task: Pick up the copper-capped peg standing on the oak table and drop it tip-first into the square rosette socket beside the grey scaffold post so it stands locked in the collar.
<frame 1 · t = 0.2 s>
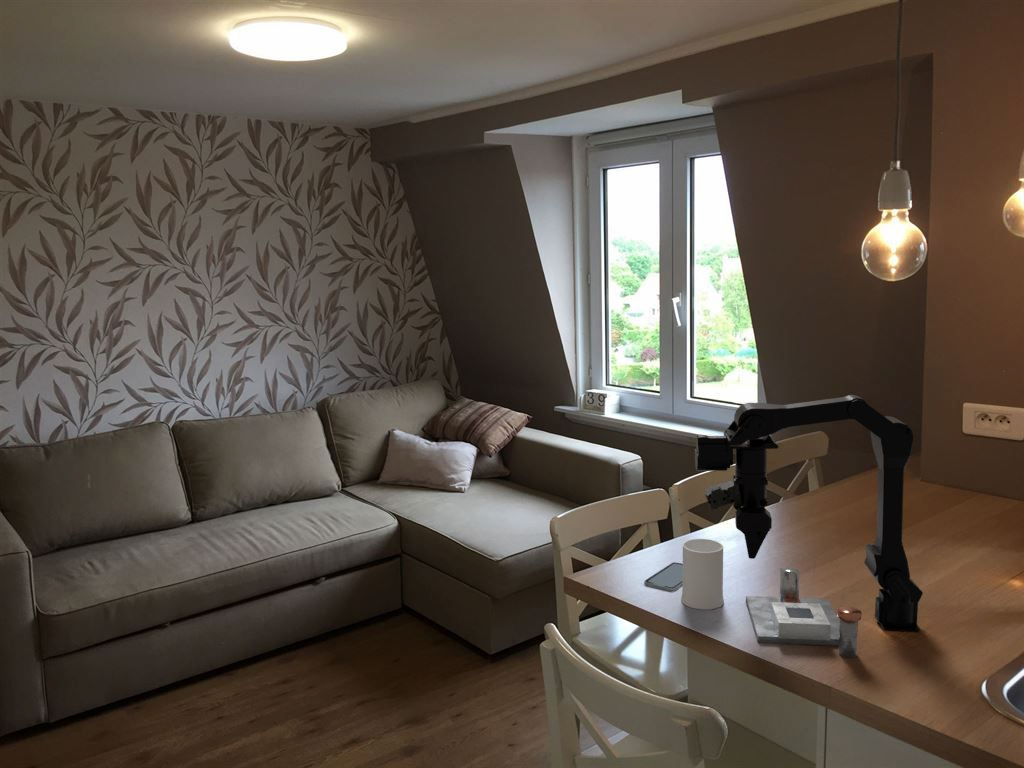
hand: (750, 549, 162), 14 cm above the kitchen counter, fingers open, 9 cm apart
copper-capped peg: (847, 653, 150), on the kitchen counter
mug: (705, 599, 175), on the kitchen counter
socket base: (794, 622, 163), on the kitchen counter
smartphone: (673, 579, 186), on the kitchen counter
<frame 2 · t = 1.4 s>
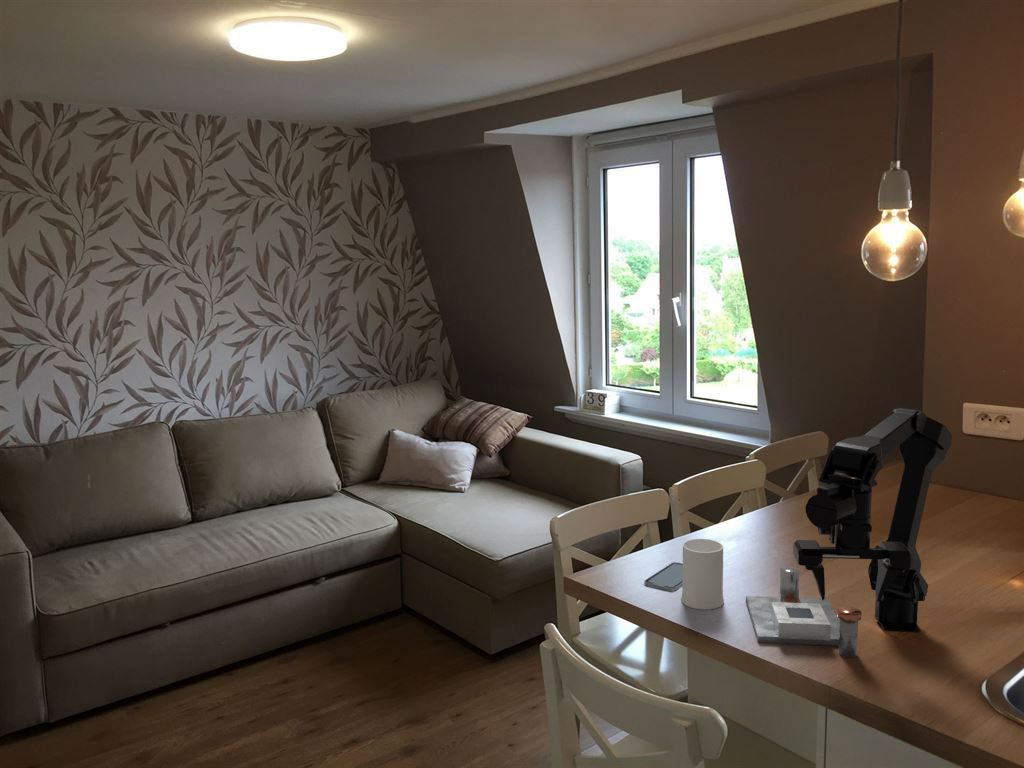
hand: (849, 600, 148), 10 cm above the kitchen counter, fingers open, 9 cm apart
nothing on the kitchen counter moved.
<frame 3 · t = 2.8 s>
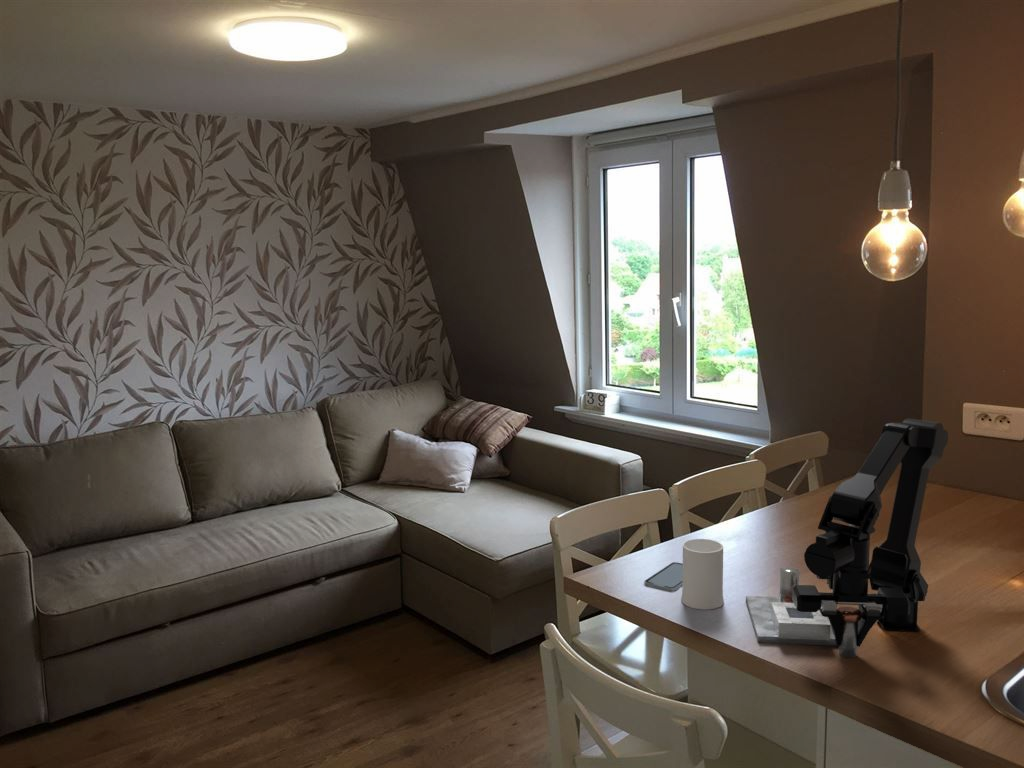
hand: (847, 645, 150), 2 cm above the kitchen counter, fingers closed on copper-capped peg, 3 cm apart
copper-capped peg: (847, 653, 150), on the kitchen counter, touching gripper
everything else where it was.
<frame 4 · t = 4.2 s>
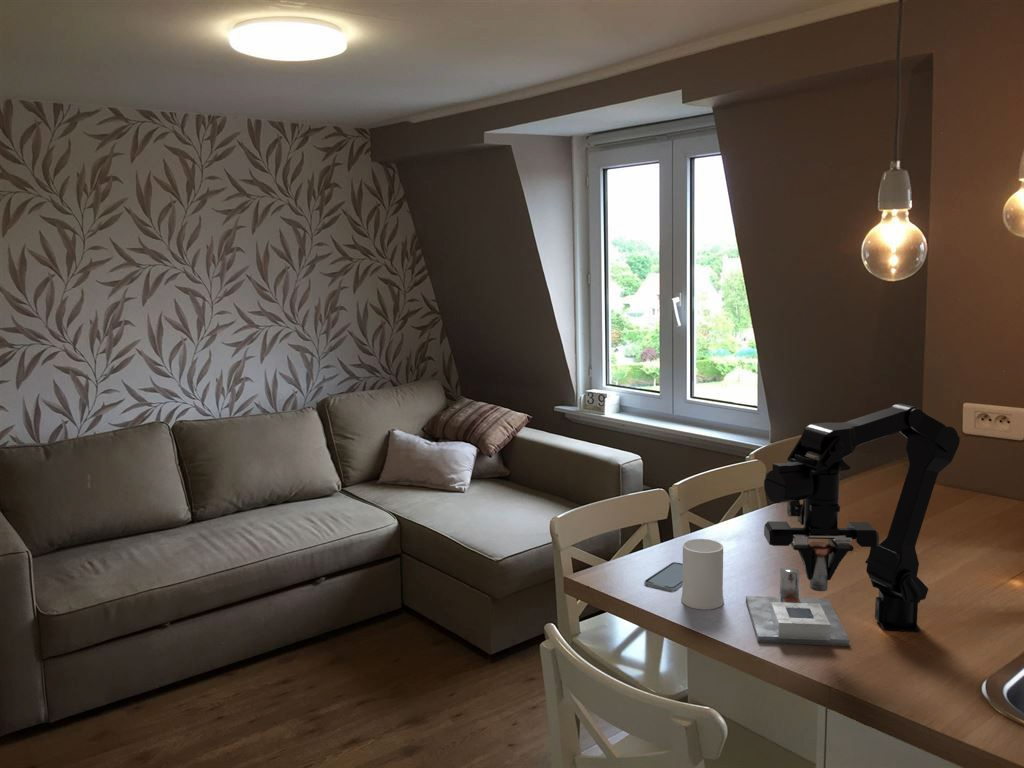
hand: (818, 579, 153), 12 cm above the kitchen counter, fingers closed on copper-capped peg, 3 cm apart
copper-capped peg: (818, 588, 153), point 10 cm above the kitchen counter, touching gripper
everything else where it was.
when the fingers open (5 cm above the kitchen counter, at t = 5.9 s): copper-capped peg drops 2 cm, resting on socket base.
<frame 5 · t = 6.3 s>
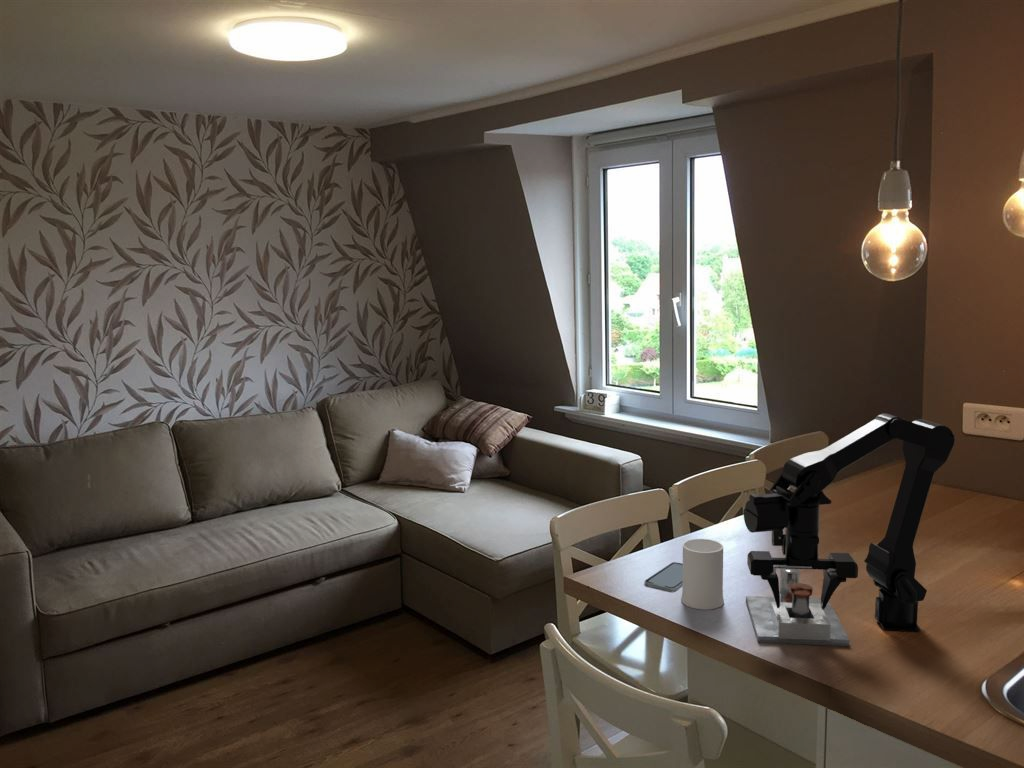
hand: (800, 607, 157), 5 cm above the kitchen counter, fingers open, 8 cm apart
copper-capped peg: (799, 628, 158), point 1 cm above the kitchen counter, touching socket base
everything else where it was.
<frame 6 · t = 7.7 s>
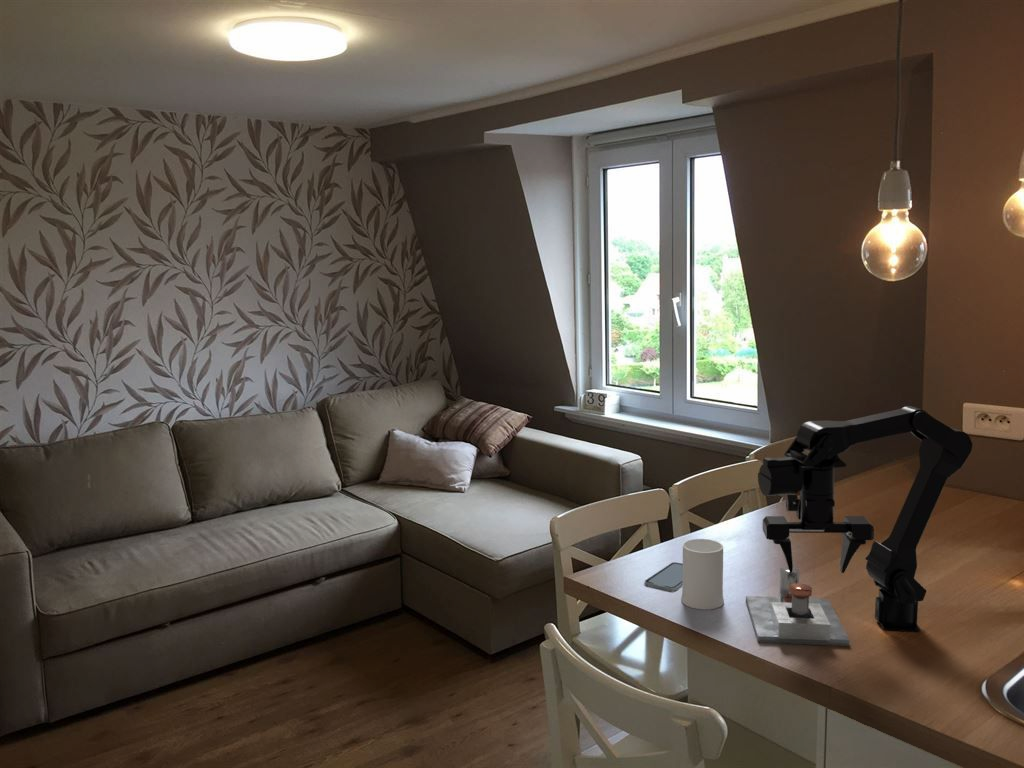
hand: (816, 572, 157), 12 cm above the kitchen counter, fingers open, 9 cm apart
nothing on the kitchen counter moved.
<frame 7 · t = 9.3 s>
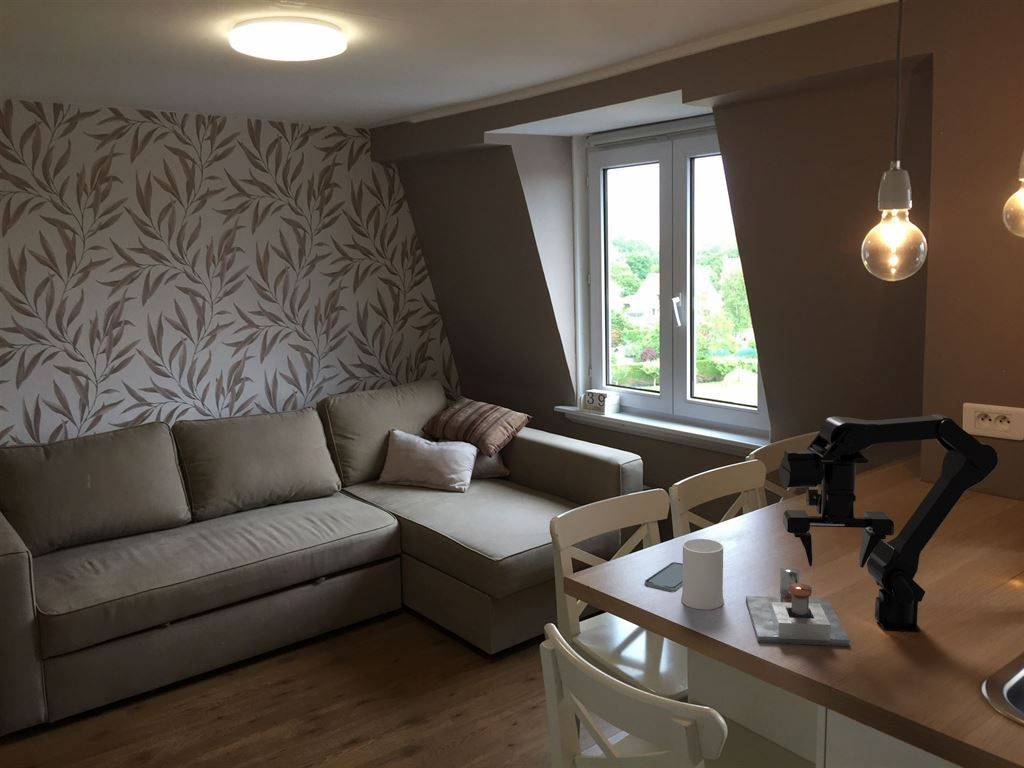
hand: (835, 566, 159), 12 cm above the kitchen counter, fingers open, 9 cm apart
nothing on the kitchen counter moved.
at the end: copper-capped peg 0.1 cm from the target spot on the socket base, point 1.2 cm above the socket base's base; copper-capped peg tilted 1°; the gripper is holding nothing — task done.
